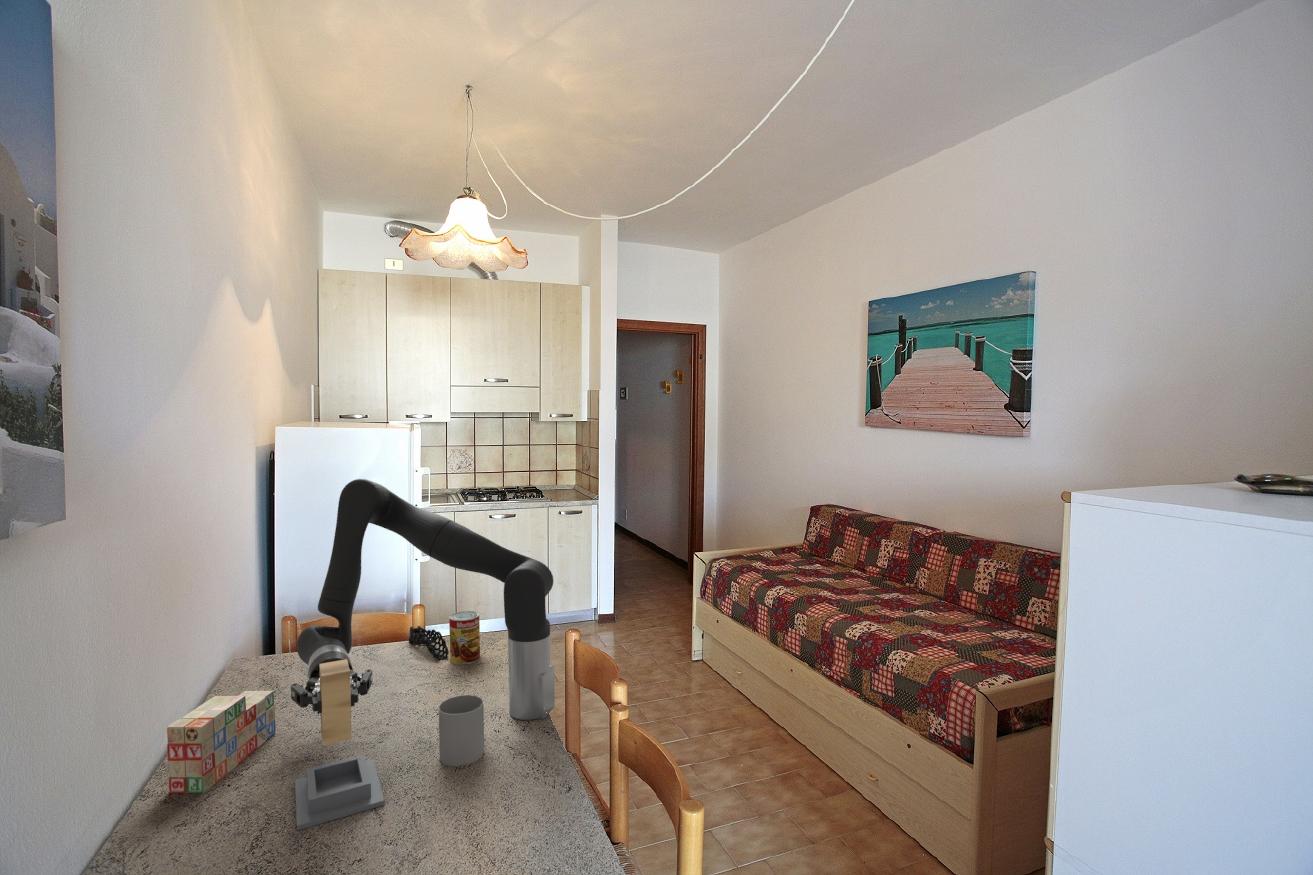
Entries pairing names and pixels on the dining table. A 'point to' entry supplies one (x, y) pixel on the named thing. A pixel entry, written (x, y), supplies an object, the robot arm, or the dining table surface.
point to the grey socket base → (337, 791)
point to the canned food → (464, 637)
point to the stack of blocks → (217, 739)
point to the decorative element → (429, 641)
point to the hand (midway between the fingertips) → (336, 704)
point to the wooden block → (335, 701)
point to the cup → (461, 730)
